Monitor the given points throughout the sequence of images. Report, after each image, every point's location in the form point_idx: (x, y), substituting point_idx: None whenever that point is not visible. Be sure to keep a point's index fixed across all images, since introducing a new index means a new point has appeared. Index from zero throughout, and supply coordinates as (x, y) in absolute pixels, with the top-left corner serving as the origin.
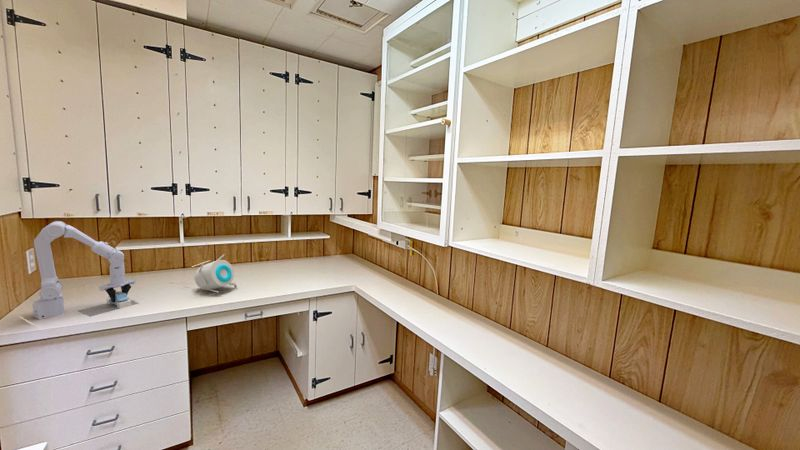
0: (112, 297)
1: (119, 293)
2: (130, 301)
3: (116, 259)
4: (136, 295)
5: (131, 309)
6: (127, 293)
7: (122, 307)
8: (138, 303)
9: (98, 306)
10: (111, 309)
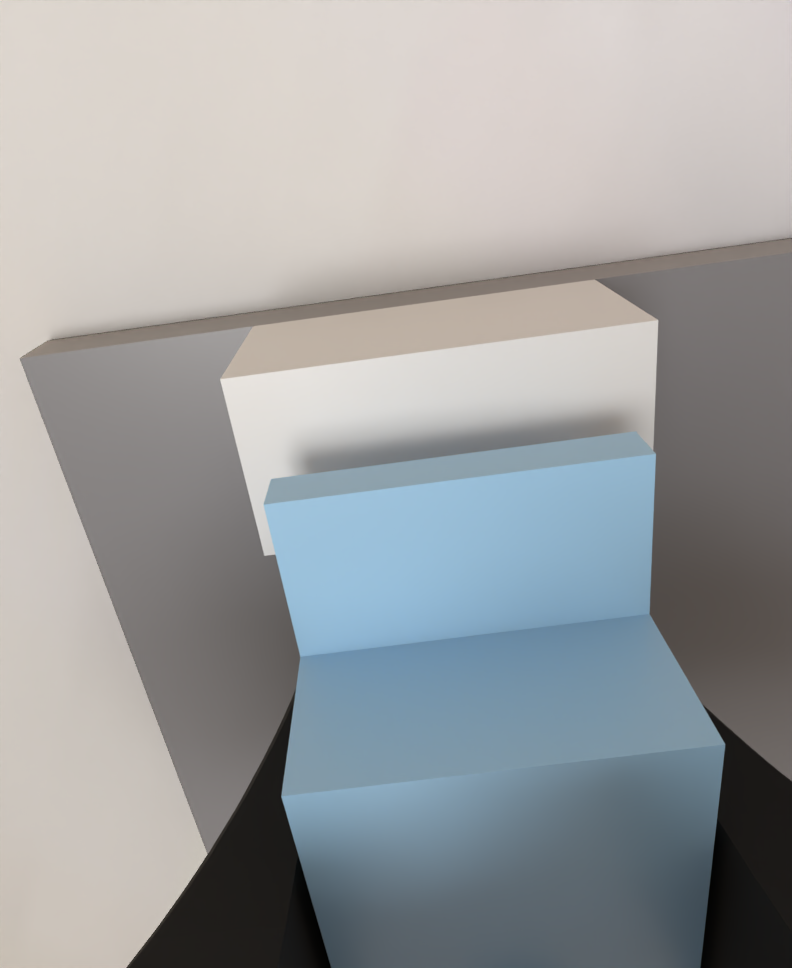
0: (780, 780)
1: (495, 946)
2: (251, 364)
3: None
4: (17, 953)
5: (317, 89)
6: (214, 854)
7: (516, 288)
8: (42, 351)
9: (789, 762)
10: (761, 369)
